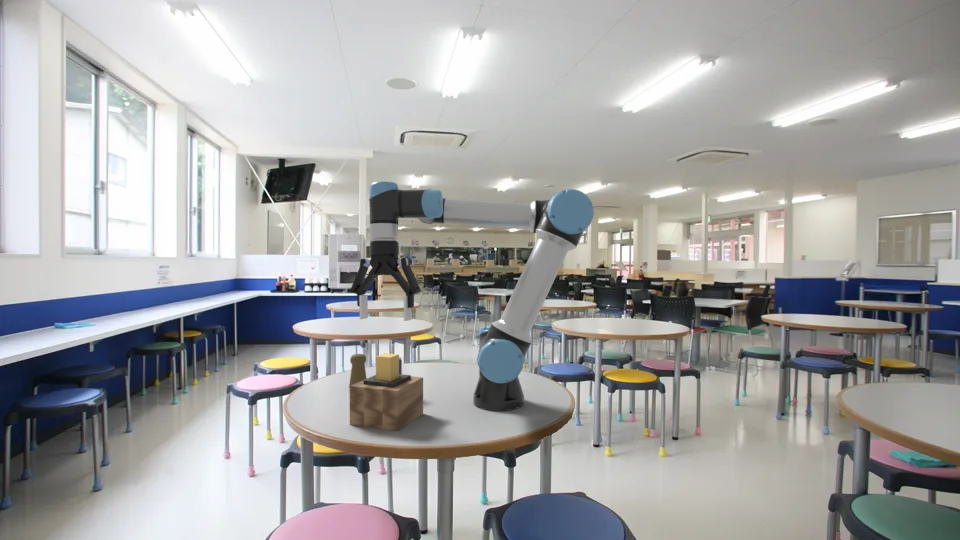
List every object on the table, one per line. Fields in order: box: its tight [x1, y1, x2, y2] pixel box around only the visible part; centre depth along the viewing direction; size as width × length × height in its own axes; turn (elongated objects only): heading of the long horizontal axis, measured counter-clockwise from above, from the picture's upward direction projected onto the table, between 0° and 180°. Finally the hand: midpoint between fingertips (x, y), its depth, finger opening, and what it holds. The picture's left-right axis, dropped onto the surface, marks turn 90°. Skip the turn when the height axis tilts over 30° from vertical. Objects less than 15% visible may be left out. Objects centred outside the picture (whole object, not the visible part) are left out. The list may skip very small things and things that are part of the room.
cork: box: [348, 353, 368, 389], centre depth 149 cm, size 6×6×11 cm
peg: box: [375, 353, 400, 381], centre depth 118 cm, size 4×4×9 cm
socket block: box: [349, 373, 424, 432], centre depth 118 cm, size 14×14×11 cm
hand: (385, 319), depth 119 cm, fingers open, 13 cm apart
